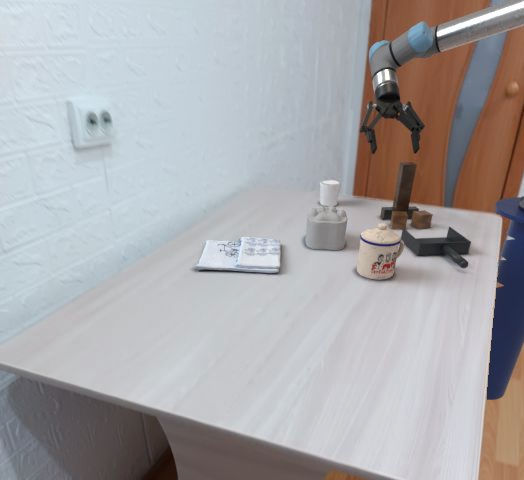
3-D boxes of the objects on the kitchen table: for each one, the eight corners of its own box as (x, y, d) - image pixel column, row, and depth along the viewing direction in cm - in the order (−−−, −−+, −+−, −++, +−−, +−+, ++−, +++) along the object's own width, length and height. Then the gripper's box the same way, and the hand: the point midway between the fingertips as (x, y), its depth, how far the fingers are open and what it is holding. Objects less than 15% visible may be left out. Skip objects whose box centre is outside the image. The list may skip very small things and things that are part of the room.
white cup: (325, 207, 155) (327, 185, 151) (314, 202, 160) (315, 180, 156) (343, 205, 157) (345, 183, 153) (331, 199, 162) (333, 178, 158)
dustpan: (400, 240, 132) (402, 228, 130) (447, 238, 133) (450, 226, 132) (436, 274, 113) (440, 261, 111) (490, 271, 115) (494, 258, 113)
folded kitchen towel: (279, 274, 111) (280, 266, 110) (193, 271, 112) (192, 262, 110) (281, 244, 127) (281, 236, 126) (205, 241, 128) (205, 233, 126)
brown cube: (403, 225, 142) (406, 211, 140) (405, 229, 139) (408, 215, 137) (390, 224, 142) (392, 210, 140) (391, 228, 139) (393, 215, 137)
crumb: (422, 223, 144) (424, 210, 141) (429, 227, 141) (432, 214, 138) (410, 224, 143) (413, 211, 140) (418, 228, 139) (421, 215, 137)
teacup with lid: (371, 283, 108) (379, 233, 102) (347, 268, 115) (353, 220, 108) (412, 274, 113) (422, 225, 106) (386, 260, 119) (394, 214, 113)
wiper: (413, 215, 150) (424, 162, 141) (417, 218, 147) (428, 164, 138) (380, 216, 148) (388, 162, 139) (383, 219, 146) (392, 164, 137)
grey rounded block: (305, 248, 125) (308, 216, 120) (304, 231, 136) (307, 200, 131) (345, 250, 124) (349, 217, 120) (341, 233, 135) (345, 202, 130)
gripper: (418, 99, 156) (428, 158, 152) (344, 98, 152) (352, 158, 148) (429, 82, 148) (439, 143, 144) (351, 81, 145) (360, 143, 141)
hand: (395, 151), depth 146 cm, fingers open, 13 cm apart
